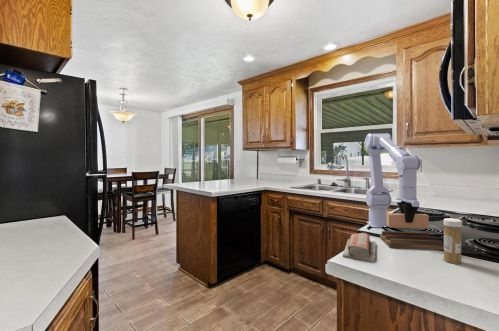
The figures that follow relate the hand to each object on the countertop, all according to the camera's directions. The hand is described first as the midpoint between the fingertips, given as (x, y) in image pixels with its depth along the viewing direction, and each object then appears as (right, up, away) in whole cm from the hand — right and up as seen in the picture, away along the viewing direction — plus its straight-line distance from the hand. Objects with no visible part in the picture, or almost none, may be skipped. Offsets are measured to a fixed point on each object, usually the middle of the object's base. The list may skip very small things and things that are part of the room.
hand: (407, 221), depth 99 cm
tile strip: (0, -2, 0) cm, 2 cm away
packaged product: (-22, -9, -7) cm, 25 cm away
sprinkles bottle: (+3, -9, -18) cm, 21 cm away
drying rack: (0, -8, -2) cm, 8 cm away
